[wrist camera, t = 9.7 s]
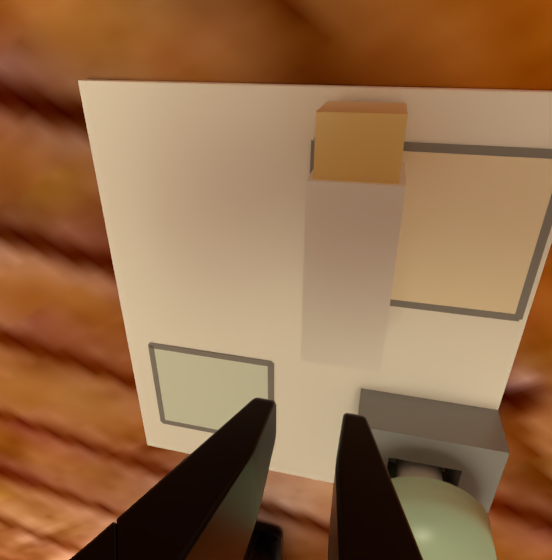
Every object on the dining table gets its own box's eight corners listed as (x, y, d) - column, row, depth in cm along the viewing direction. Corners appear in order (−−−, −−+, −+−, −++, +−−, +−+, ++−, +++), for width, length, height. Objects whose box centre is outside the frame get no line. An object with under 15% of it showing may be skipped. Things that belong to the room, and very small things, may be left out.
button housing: (468, 487, 23) (477, 543, 21) (351, 465, 24) (346, 515, 22) (495, 400, 20) (509, 452, 18) (361, 379, 22) (356, 425, 19)
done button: (465, 508, 22) (480, 610, 18) (357, 487, 23) (349, 578, 19) (490, 431, 19) (513, 530, 15) (367, 411, 20) (360, 498, 16)
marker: (382, 327, 19) (380, 372, 17) (313, 318, 20) (300, 360, 17) (412, 102, 15) (415, 115, 12) (322, 100, 16) (307, 112, 13)
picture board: (464, 500, 24) (466, 512, 23) (152, 437, 27) (146, 446, 27) (592, 91, 14) (600, 93, 14) (86, 79, 18) (76, 80, 17)
